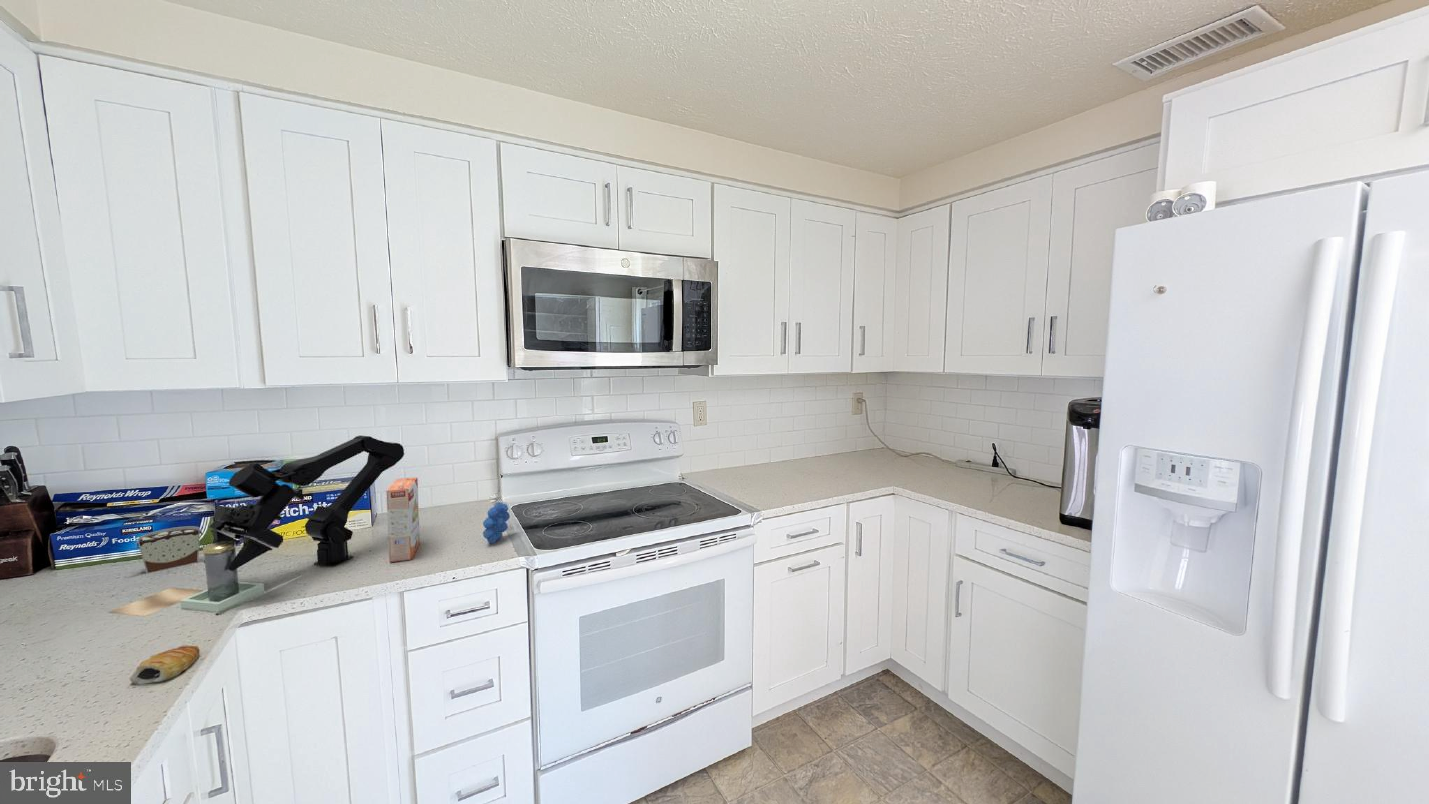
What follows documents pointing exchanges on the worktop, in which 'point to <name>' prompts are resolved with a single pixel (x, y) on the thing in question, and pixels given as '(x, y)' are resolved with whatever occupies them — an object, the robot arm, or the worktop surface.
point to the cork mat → (156, 602)
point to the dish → (203, 603)
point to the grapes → (496, 522)
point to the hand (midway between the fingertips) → (217, 567)
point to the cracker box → (403, 519)
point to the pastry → (165, 665)
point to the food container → (169, 547)
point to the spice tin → (220, 570)
